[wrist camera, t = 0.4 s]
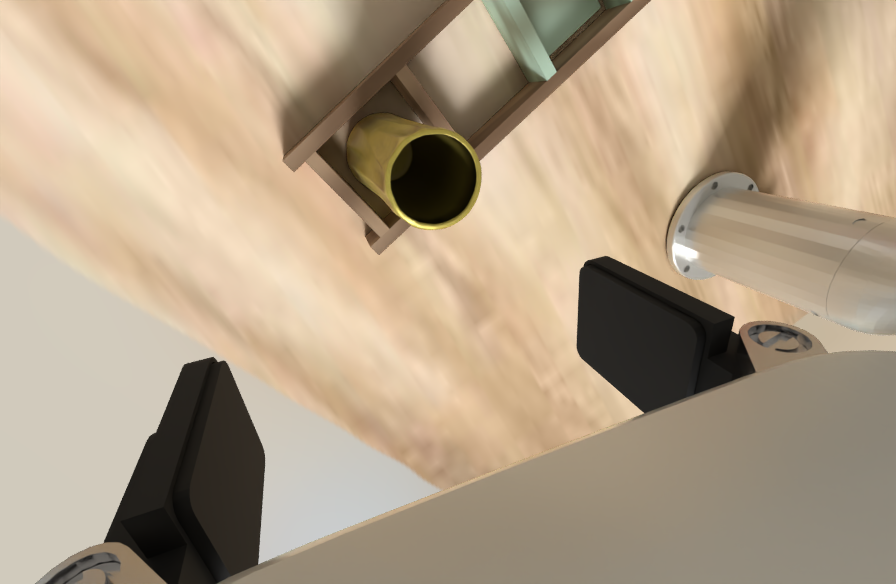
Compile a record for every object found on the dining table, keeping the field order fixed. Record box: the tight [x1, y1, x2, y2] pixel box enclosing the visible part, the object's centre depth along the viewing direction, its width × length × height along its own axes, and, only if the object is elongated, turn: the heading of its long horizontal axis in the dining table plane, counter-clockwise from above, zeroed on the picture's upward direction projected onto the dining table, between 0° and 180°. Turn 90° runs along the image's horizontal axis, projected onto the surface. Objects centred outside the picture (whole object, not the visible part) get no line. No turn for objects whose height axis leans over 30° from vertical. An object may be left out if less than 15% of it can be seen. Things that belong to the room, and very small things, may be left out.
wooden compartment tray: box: [283, 0, 651, 255], centre depth 32 cm, size 10×30×3 cm, turn 128°
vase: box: [347, 113, 481, 230], centre depth 27 cm, size 6×6×14 cm
